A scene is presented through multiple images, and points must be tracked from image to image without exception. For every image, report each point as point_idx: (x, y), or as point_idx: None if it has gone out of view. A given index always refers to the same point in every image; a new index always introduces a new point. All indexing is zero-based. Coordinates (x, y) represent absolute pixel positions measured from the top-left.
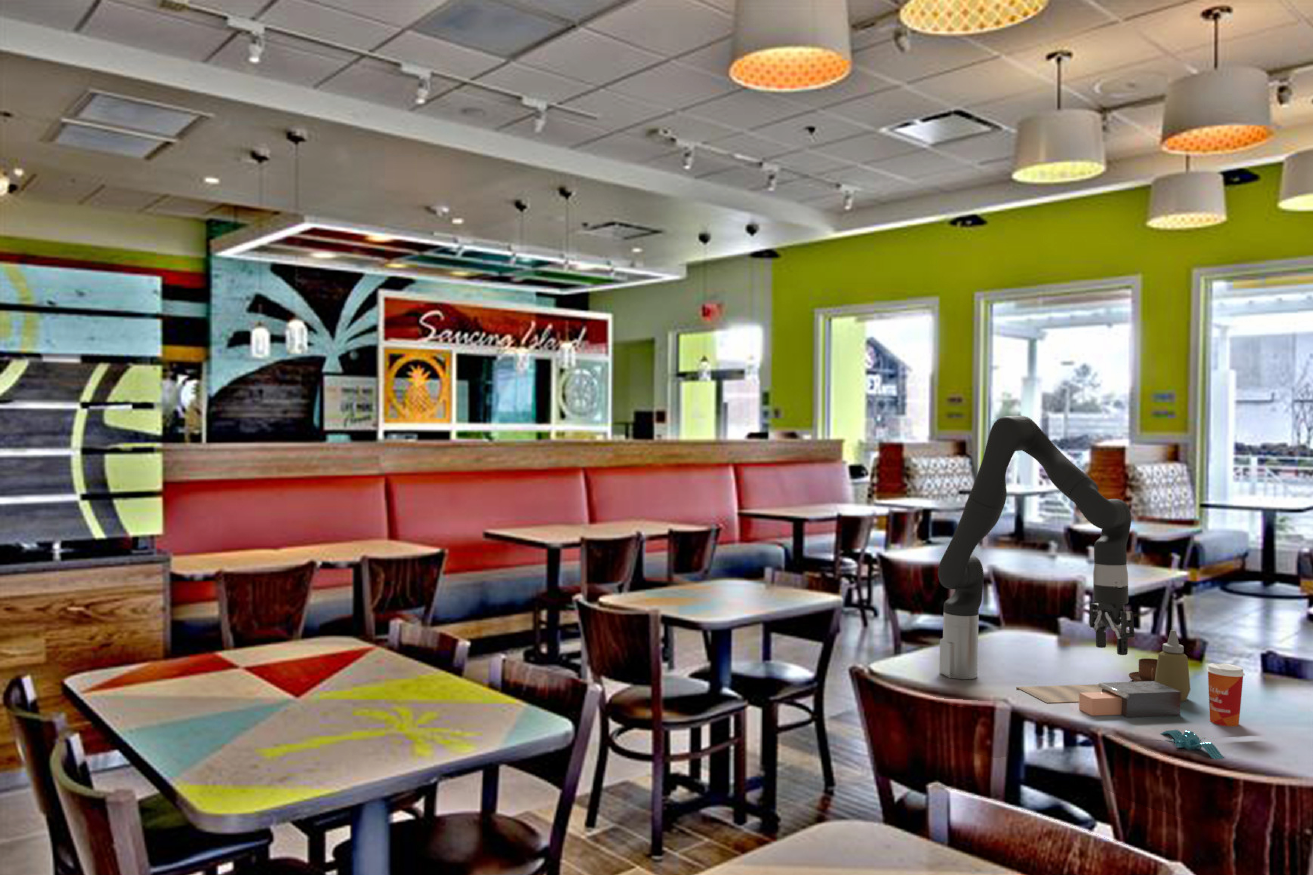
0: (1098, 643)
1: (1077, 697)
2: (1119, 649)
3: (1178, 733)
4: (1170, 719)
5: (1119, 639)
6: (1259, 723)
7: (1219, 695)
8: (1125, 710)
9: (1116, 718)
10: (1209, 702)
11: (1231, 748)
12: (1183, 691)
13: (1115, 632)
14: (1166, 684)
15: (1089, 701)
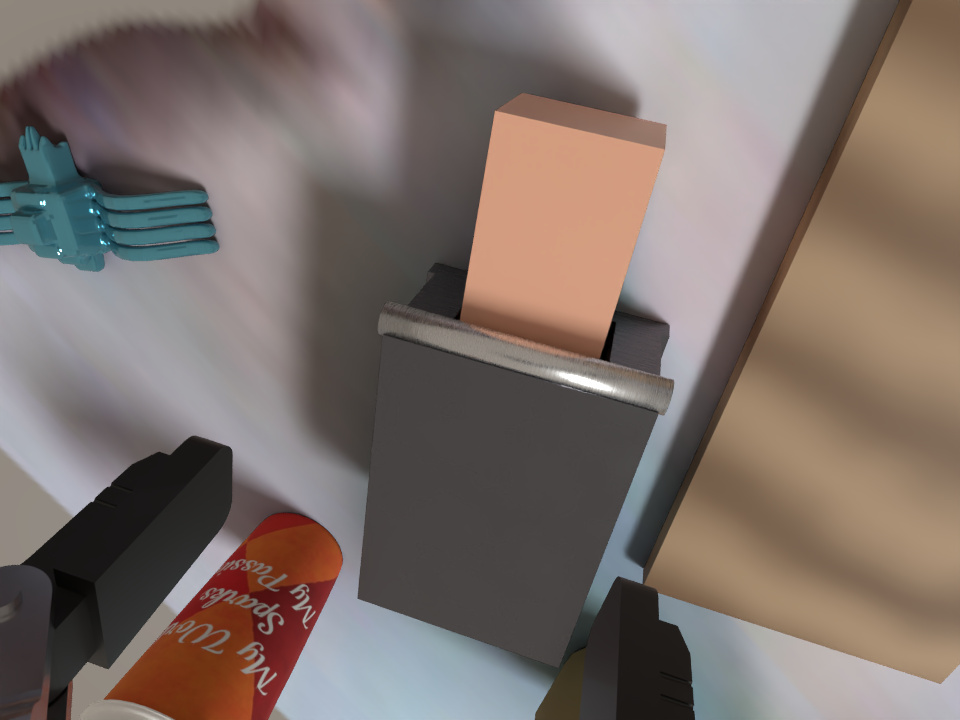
0: (616, 618)
1: (862, 333)
2: (156, 474)
3: (109, 234)
4: None
5: (59, 575)
6: (315, 653)
7: (191, 613)
8: (435, 290)
9: None
10: (277, 594)
11: (76, 348)
12: (536, 712)
13: (39, 672)
14: None
15: (534, 112)
